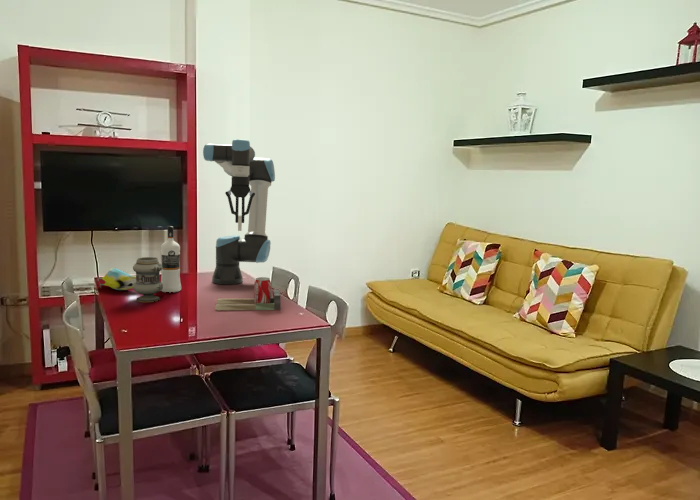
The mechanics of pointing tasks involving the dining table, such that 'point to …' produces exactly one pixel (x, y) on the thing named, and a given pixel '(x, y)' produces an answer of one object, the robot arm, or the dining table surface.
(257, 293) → the soda can
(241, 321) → the dining table surface
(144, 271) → the apothecary jar
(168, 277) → the vodka
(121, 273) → the decorative bird
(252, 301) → the guide channel
